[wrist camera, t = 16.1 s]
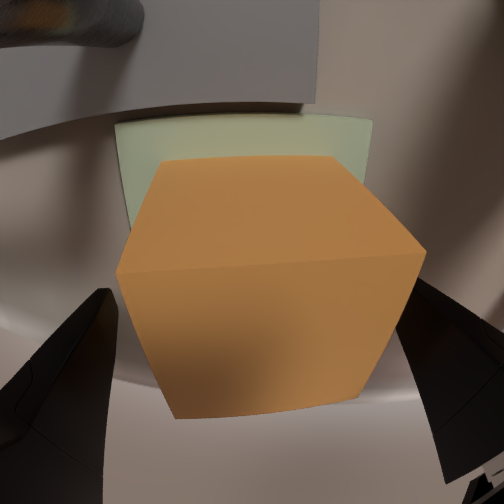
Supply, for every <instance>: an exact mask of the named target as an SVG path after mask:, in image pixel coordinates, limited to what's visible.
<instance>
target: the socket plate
mask: <svg viewBox="0 0 504 504" xmlns="http://www.w3.org/2000/svg"><path fill="white" fill-rule="evenodd" d="M139 1H140V2H141V4H142V5H143V8H144V11H145V19H144V23H143V26H142V28H141V30H140V31H139V33H138V34H137V35H136V36H135V37H134V38H133V39H132V40H131V41H129V42H128V43H126V44H124V45H122V46H119V47H116V48H100V47H83V46H27V47H12V48H0V140H2V139H5V138H8V137H12V136H15V135H18V134H21V133H25V132H28V131H32V130H35V129H39V128H43V127H47V126H51V125H55V124H59V123H63V122H68V121H72V120H77V119H81V118H86V117H92V116H97V115H102V114H108V113H114V112H121V111H127V110H134V109H142V108H150V107H159V106H169V105H181V104H195V103H214V102H287V103H306V104H315V94H316V78H317V59H318V36H319V0H139Z"/></svg>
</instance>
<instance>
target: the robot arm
mask: <svg viewBox="0 0 504 504" xmlns="http://www.w3.org/2000/svg"><path fill="white" fill-rule="evenodd" d="M118 314H119V313H118V306H117V304H116V301H115V298H114V295H113V293H112V290H111V289H110V288H98V289H97V290H96V291H95V292H94V293H92V294H91V295H90V296H89V297H88V298H87V299H86V300H85V301H84V302H83V303H82V304H81V305H80V306H79V307H78V308H77V309H76V310H75V311H74V312H73V313H72V314H71V315H70V316H69V317H68V318H67V319H66V320H65V321H64V322H63V323H62V325H61V326H60V327H59V328H58V329H57V330H56V331H55V332H54V333H53V334H52V335H51V336H50V337H49V338H48V339H47V340H46V341H45V342H44V343H43V345H42V346H41V347H40V348H39V349H38V350H37V351H36V352H35V353H34V354H33V355H32V357H31V358H30V360H28V361H27V362H26V363H25V364H24V366H23V367H22V368H21V369H20V370H19V371H18V372H17V373H16V374H15V375H14V377H13V378H12V379H11V380H10V381H9V382H8V383H7V384H6V385H5V386H4V387H3V388H2V389H1V390H0V504H103V477H102V476H103V465H104V448H105V436H106V425H107V415H108V406H109V398H110V391H111V383H112V377H113V370H114V364H115V356H116V341H117V327H118ZM395 328H396V331H397V334H398V337H399V339H400V342H401V344H402V347H403V350H404V352H405V355H406V357H407V360H408V363H409V365H410V368H411V371H412V374H413V376H414V379H415V382H416V385H417V388H418V391H419V393H420V396H421V399H422V402H423V405H424V409H425V412H426V415H427V418H428V421H429V424H430V427H431V431H432V434H433V439H434V442H435V445H436V449H437V453H438V457H439V460H440V464H441V468H442V472H443V476H444V481H445V483H446V484H448V483H450V482H452V481H454V480H456V479H458V478H460V477H462V476H464V475H466V474H467V473H469V472H471V471H473V470H474V469H476V468H478V467H480V466H481V465H482V467H483V469H484V473H482V474H481V475H479V476H478V477H476V478H475V479H474V480H472V481H470V484H469V486H468V489H467V492H466V494H465V497H464V499H463V502H462V504H504V333H503V332H501V331H499V330H498V329H496V328H495V327H493V326H492V325H490V324H489V323H487V322H486V321H484V320H483V319H480V317H479V316H477V315H476V314H474V313H473V312H471V311H470V310H468V309H467V308H465V307H464V306H462V305H460V304H459V303H457V302H456V301H454V300H453V299H451V298H450V297H448V296H447V295H445V294H443V293H442V292H440V291H439V290H437V289H436V288H434V287H432V286H431V285H429V284H428V283H426V282H424V281H423V280H421V279H420V278H418V277H417V279H416V282H415V284H414V287H413V289H412V292H411V294H410V296H409V299H408V301H407V303H406V305H405V308H404V310H403V312H402V314H401V316H400V319H399V321H398V323H397V325H396V327H395Z"/></svg>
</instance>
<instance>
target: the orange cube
mask: <svg viewBox="0 0 504 504" xmlns="http://www.w3.org/2000/svg"><path fill="white" fill-rule="evenodd" d="M426 253H427V251H426V250H425V249H424V248H423V247H422V246H421V245H420V243H419V242H418V241H417V240H416V239H415V238H414V237H413V236H412V235H411V233H410V232H409V231H408V230H407V229H406V228H405V227H404V226H403V225H402V224H401V223H400V222H399V220H398V219H397V218H396V217H395V216H394V215H393V214H392V213H391V212H390V211H389V210H388V209H387V208H386V207H385V206H384V205H383V204H382V203H381V202H380V201H379V200H378V199H377V198H376V197H375V196H374V195H373V194H372V193H371V192H370V191H369V190H368V189H367V188H366V187H365V186H364V185H363V184H362V183H361V182H360V181H359V180H358V179H357V178H356V177H354V176H353V175H352V174H351V173H350V172H349V171H348V170H347V169H346V168H345V167H344V166H343V165H341V164H340V163H339V162H338V161H337V160H336V159H335V158H334V157H333V156H309V155H267V156H232V157H212V158H196V159H182V160H170V161H161V163H160V165H159V167H158V169H157V171H156V174H155V176H154V178H153V180H152V182H151V185H150V187H149V189H148V191H147V194H146V196H145V198H144V201H143V203H142V205H141V208H140V210H139V212H138V215H137V217H136V220H135V222H134V225H133V227H132V230H131V232H130V235H129V237H128V240H127V243H126V245H125V248H124V250H123V253H122V256H121V259H120V261H119V264H118V267H117V270H116V273H115V274H116V277H117V280H118V283H119V286H120V289H121V292H122V295H123V298H124V301H125V304H126V306H127V309H128V312H129V315H130V317H131V320H132V323H133V325H134V328H135V331H136V333H137V336H138V338H139V341H140V343H141V346H142V348H143V350H144V353H145V355H146V358H147V360H148V362H149V365H150V367H151V369H152V371H153V374H154V376H155V378H156V380H157V382H158V385H159V387H160V389H161V391H162V393H163V395H164V397H165V399H166V401H167V403H168V405H169V407H170V410H171V411H172V413H173V415H174V417H175V419H197V418H198V419H199V418H221V417H235V416H247V415H257V414H266V413H274V412H282V411H289V410H296V409H302V408H308V407H314V406H320V405H325V404H330V403H335V402H340V401H345V400H349V399H354V398H357V397H358V396H359V394H360V392H361V391H362V389H363V387H364V386H365V384H366V382H367V380H368V379H369V377H370V375H371V373H372V372H373V370H374V368H375V366H376V364H377V362H378V361H379V359H380V357H381V355H382V353H383V351H384V349H385V347H386V345H387V343H388V341H389V339H390V337H391V335H392V333H393V331H394V329H395V327H396V325H397V323H398V321H399V319H400V316H401V314H402V312H403V310H404V308H405V305H406V303H407V301H408V299H409V296H410V294H411V292H412V289H413V287H414V284H415V282H416V279H417V277H418V274H419V272H420V269H421V267H422V264H423V262H424V259H425V256H426Z"/></svg>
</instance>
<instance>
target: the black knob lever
mask: <svg viewBox="0 0 504 504" xmlns="http://www.w3.org/2000/svg"><path fill="white" fill-rule="evenodd" d="M144 19H145V11H144V8H143V5H142V4H141V2H140V1H139V0H0V48H12V47H27V46H83V47H100V48H116V47H119V46H122V45H124V44H126V43H128V42H129V41H131V40H132V39H133V38H134V37H135V36H136V35H137V34H138V33H139V31H140V30H141V28H142V26H143V23H144Z"/></svg>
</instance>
